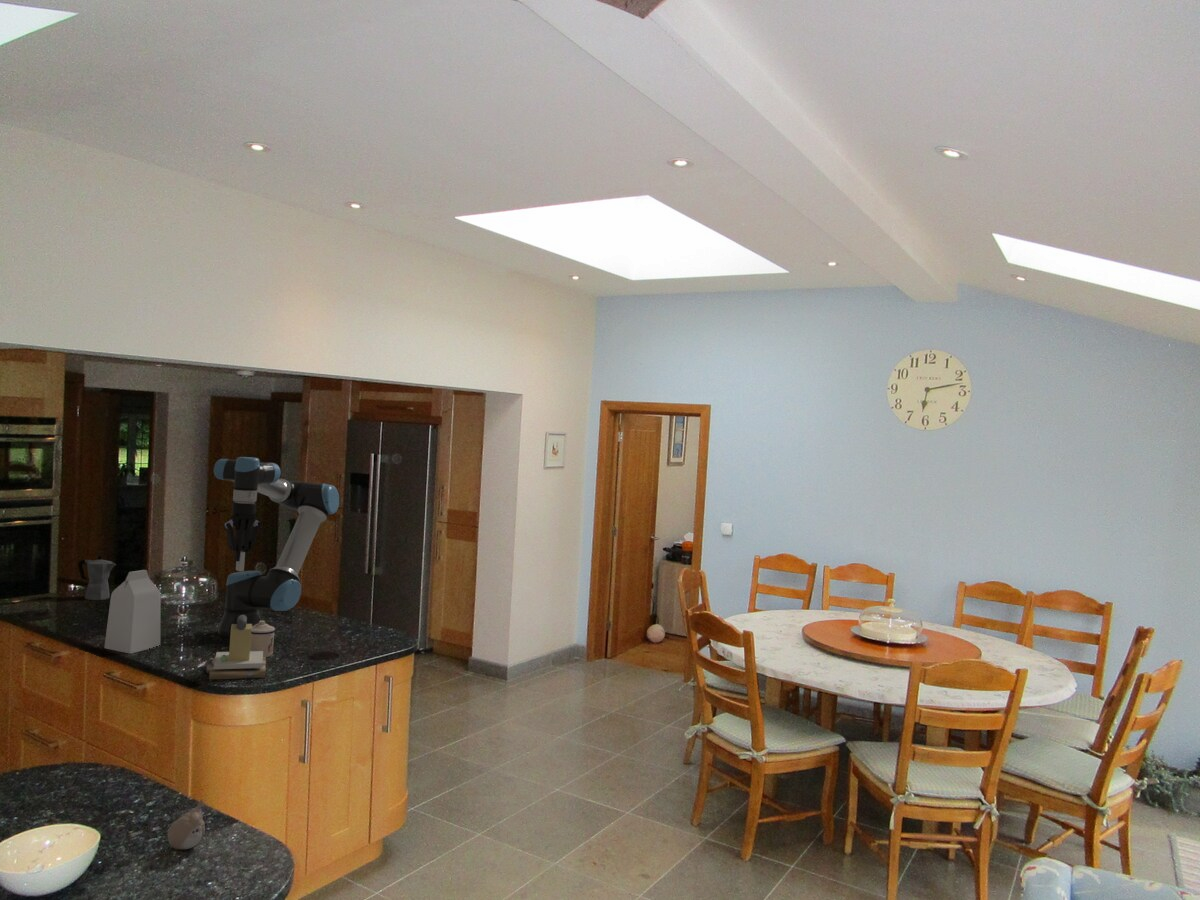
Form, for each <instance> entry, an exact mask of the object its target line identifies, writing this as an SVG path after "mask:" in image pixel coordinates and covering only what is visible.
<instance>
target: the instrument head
mask: <svg viewBox="0 0 1200 900" xmlns="http://www.w3.org/2000/svg"><path fill="white" fill-rule="evenodd" d="M246 623H247V617H246V616H245V615H240V616H239V617H238V620H237V624H232V626H231V634H230V637H229V649H228V650H229V651H216V654H215V657H214V658H215V662H214V669H242V668H262V665H263V651H250V644H251V630H252V624H246Z"/></svg>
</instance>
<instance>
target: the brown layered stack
mask: <svg viewBox="0 0 1200 900" xmlns="http://www.w3.org/2000/svg"><path fill="white" fill-rule="evenodd" d="M211 660H212V661H211V663H210V664H207V665H206V673H207V674H209V677H208V679H209V680H226V679H227V680H228V679H230V680H233V679H234V680H235V679H258V678H259V679H260V678H266V671H267V670H266V669H267V668H266V665H267V657H263V665H262V668H242V669H214V662H215V657H214V658H212V659H211Z"/></svg>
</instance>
